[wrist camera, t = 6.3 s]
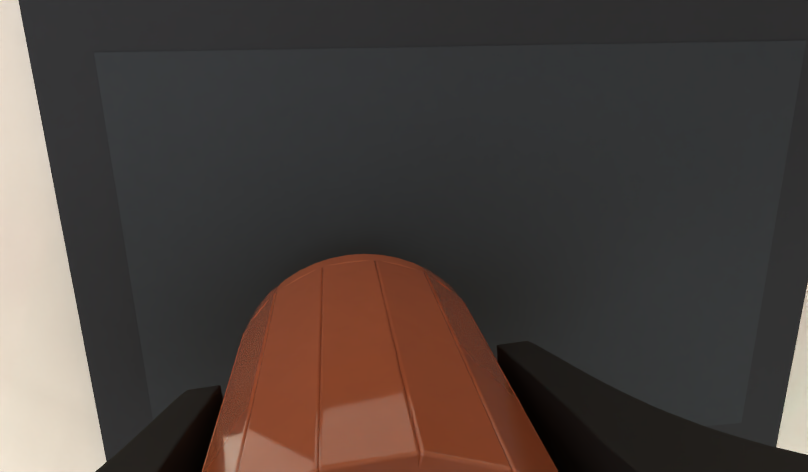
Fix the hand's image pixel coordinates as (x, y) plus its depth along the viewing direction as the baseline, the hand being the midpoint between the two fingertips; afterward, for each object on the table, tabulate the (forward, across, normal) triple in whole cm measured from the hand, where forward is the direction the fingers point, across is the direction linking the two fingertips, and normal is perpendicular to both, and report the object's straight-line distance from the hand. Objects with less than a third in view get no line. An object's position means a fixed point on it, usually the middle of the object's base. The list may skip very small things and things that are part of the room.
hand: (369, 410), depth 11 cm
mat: (+5, -3, -1) cm, 6 cm away
